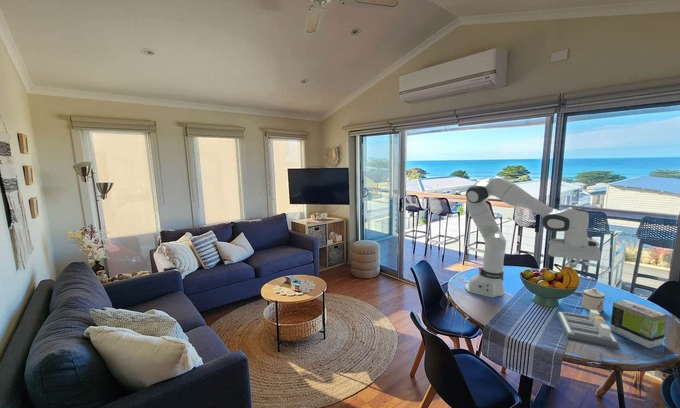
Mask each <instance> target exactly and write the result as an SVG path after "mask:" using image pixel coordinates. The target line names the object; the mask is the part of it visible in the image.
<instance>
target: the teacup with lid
mask: <svg viewBox="0 0 680 408" xmlns="http://www.w3.org/2000/svg"><path fill="white" fill-rule="evenodd" d="M605 297H606V296H605V294H604V293H603V292H601V291H599V290H598V289H597V288H595V287H591V288H589V289H584V290H582V300H581V301H582V302H581V307H582V308H583V309H584V310H586V311H589V312H590V309H591V310H597V311H598V312H599V313H602V311H603V308H604V302H605V301H604V300H605Z"/></svg>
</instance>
